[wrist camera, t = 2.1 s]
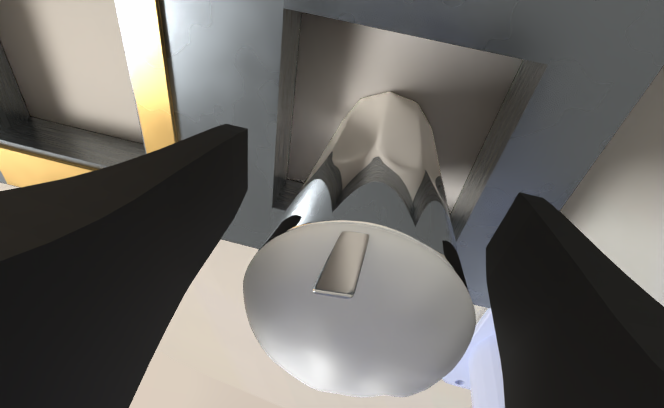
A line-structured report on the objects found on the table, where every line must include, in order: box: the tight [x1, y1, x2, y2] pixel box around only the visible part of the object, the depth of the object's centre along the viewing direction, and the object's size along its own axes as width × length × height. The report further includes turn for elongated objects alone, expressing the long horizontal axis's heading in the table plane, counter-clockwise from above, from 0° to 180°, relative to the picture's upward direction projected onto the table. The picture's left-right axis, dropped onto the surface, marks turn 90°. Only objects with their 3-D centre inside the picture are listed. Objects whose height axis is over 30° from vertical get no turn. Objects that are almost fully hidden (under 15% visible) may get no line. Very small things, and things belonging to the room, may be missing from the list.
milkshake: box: [243, 91, 476, 397], centre depth 9 cm, size 4×5×10 cm
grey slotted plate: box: [0, 0, 664, 308], centre depth 13 cm, size 24×12×2 cm, turn 81°
